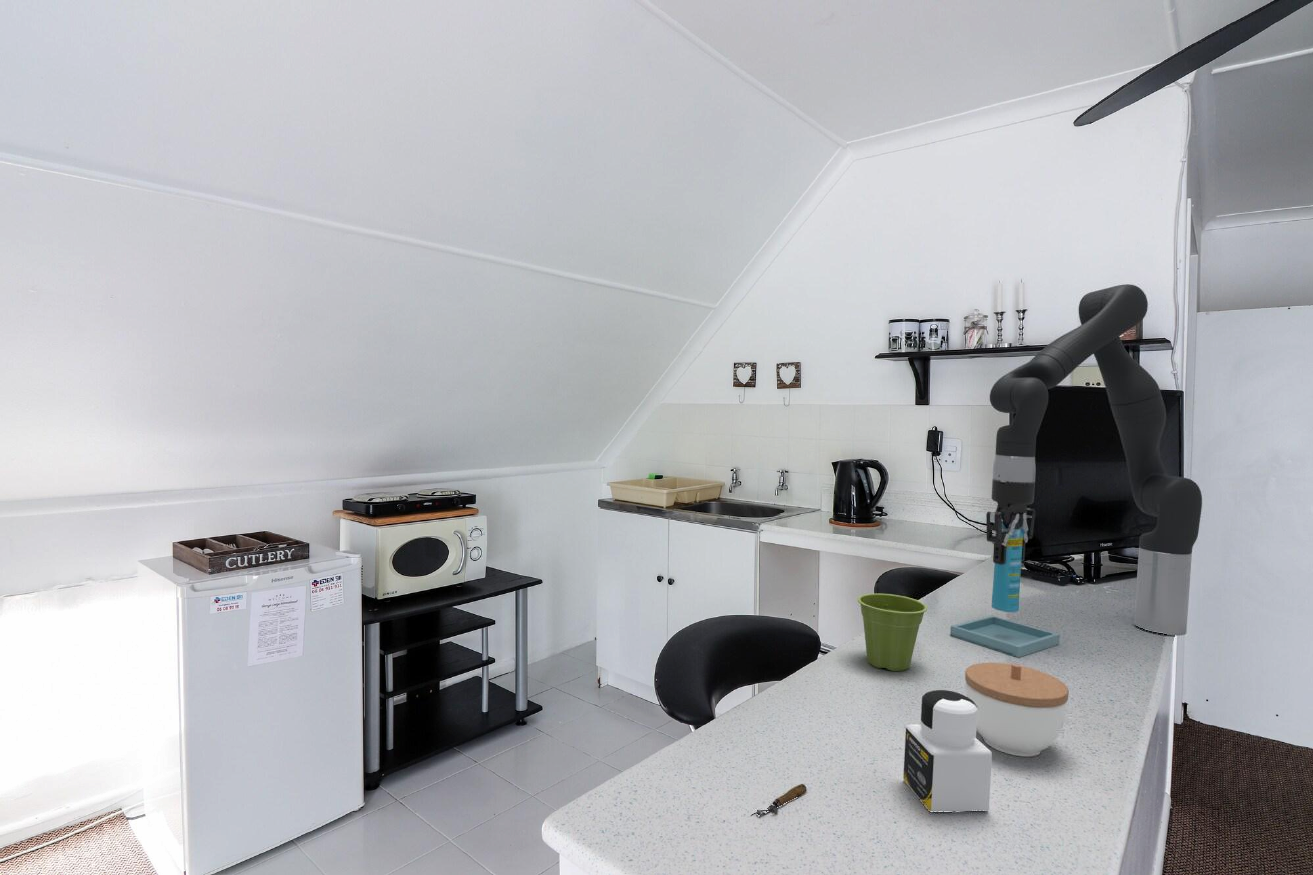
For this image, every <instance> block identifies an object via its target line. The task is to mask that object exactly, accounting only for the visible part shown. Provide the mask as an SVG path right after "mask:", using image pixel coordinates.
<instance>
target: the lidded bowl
mask: <svg viewBox="0 0 1313 875" xmlns="http://www.w3.org/2000/svg"><path fill="white" fill-rule="evenodd" d="M964 674H965V675H964V678H965V696H966V697H968V698H970V699H971V700H972V701H974V703H975V704H976V706H977V726H976V732H978V733H979V734H980V736H981V737H982V739H983V741H984V743H985V744H986V745H987V746H988V747H990V746H991V748H992V749H994V750H996V751H998V752H1001V753H1003V752H1004V754H1008V755H1010V754H1011V755H1010V756H1016V757H1024V758H1028V757H1029V758H1030V757H1037V756H1039V755H1041V753H1042V751H1043V750H1044V751H1045V749H1047V748H1049V747H1050V746H1051V745H1053V744H1054V743H1055V742H1056V740H1057V739H1058V738H1059V736H1060V734H1061V732H1062V730H1063V727H1064V723H1065V721H1066V714H1067V707H1068V706H1067V702H1068V699H1069V689H1068V686H1067V685H1066V684H1065V683H1064V682H1063V681H1061V680H1060V679H1058V677H1055V676H1053V675H1050V674H1048V673H1046V672H1043V671H1041V670H1038V669H1036V668H1035V669H1034V668H1031V667H1027V666H1023V665H1020V664H1018V663H1005V662H980V663H979V662H978V663H975V664H971V665H970V666H968V667H967V668H966V669H965V673H964Z"/></svg>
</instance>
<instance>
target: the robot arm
mask: <svg viewBox="0 0 1313 875" xmlns="http://www.w3.org/2000/svg"><path fill="white" fill-rule="evenodd" d="M1148 305H1149V302H1148V298H1147V295H1146V294H1145V292H1144V290H1142V289H1141V288H1140V287H1139V286H1137V285H1135V284H1128V283H1127V284H1119V285H1114V286H1111V287H1108V288H1101V289H1099V290H1094V291H1091V292H1088V293H1086V294H1084V295H1083V296H1082V298H1081V299H1080V301H1079V304H1078V319H1079V322H1080V325H1079V326H1078V327H1076V328H1074V329H1072V330H1070V331H1069V332H1067V333H1064V334H1062V335H1061V336H1059V337H1057V338H1056V339H1055V340H1053V341H1052V342H1050V343H1049V344H1047V345H1046V346H1045V347H1044V348H1043V349H1041V350H1040V351H1039V352H1038V353H1037V354H1036V355H1035V356H1034V357H1032V358H1031V359H1030V360H1029V361H1028V362H1026V363H1024V364H1022V365H1020V366H1018V367H1016V368H1014V369H1013V370H1011V371H1009V372H1008V373H1005V374H1004V375H1003V376H1001V377H1000V378H999V379H998V380H996V382H995V383H994V384H993V386H991V389H990V393H989V402H990V404H991V406H992V407H993V409H995V410H996V411H998V412H999V413H1004V414H1015V416H1014V418H1013V420H1012V422H1011V423H1010V424H1008V425H1007V424H1006V425H1003V426H1001V427H999V428H998V429H997V431H996V435H995V436H996V437H995V441H996V442H995V455H994V460H993V468H992V483H991V501H994V502H996V503H997V505H996V509H995V511H987V512H986V516H985V518H986V522H985V523H986V541H987V542H990V543H991V544H993V553H992V554H993V556H992V558H993V559H992V561H993V563H994V564H995V563H996V564H1001V565H1003V564H1005V563H1006V549H1007V546H1006V544H1007V541H1008V538H1009V536H1011V535H1012V534H1013V531H1014V529H1017V530H1018V529H1020V527H1022V530H1021V531H1022V533H1023V543H1022V558H1021V562H1023V561H1025V552H1026V544H1027V543H1028V541H1029V539H1030V540H1031V539H1033V536H1034V530H1035V529H1034V528H1035V522H1036V520H1035V519H1036V509H1034V508H1027V506H1028V505H1032V504H1033V503H1034V500H1035V488H1036V487H1035V486H1036V485H1035V484H1036V444H1037V435H1038V432H1039V430H1040V428H1041V425H1042V421H1043V419H1044V416H1045V413H1046V410H1047V407H1048V404H1049V392H1048V390H1049V389H1053V388H1055V387H1056V386H1058V385H1059V384H1061V382H1063V381H1064V380H1065V379H1066V378H1067V377H1068V376H1069V375H1070V374H1071V373H1073V371H1074V370H1076V369H1077V368H1078V367H1079V366H1080V365H1081V364H1082V363H1084V362H1086V360H1087V359H1088V358H1090V357H1091V356H1092V355H1094V358H1095V361H1096V363H1097V367H1098V369H1099V372H1100V374H1101V378H1102V380H1103V384H1104V387H1105V390H1106V394H1107V397H1108V402H1109V406H1110V410H1111V412H1112V416H1113V418H1114V422H1115V424H1116V427H1117V431H1118V434H1119V437H1120V441H1121V445H1122V449H1123V452H1124V456H1125V459H1126V465H1127V470H1128V475H1129V476H1128V477H1129V484H1130V487H1131V492H1132V496H1133V497H1132V498H1133V499H1134V500H1133V501H1134V502H1135V505H1136V507H1137V508H1138V509H1139V510H1140V512H1142V513H1144V514H1145V515H1148V516H1151V517H1156V518H1157V522H1156V526H1155V528H1154V529H1153V530H1152V531H1149V532H1144V533H1142V534H1141V535H1140V536H1139V542H1138V543H1139V545H1138V560H1137V571H1136V572H1137V573H1136V574H1137V575H1136V586H1135V587H1136V588H1135V590H1136V591H1135V600H1134V601H1135V602H1134V605H1135V606H1134V620H1133V625H1134V626H1135V625H1136V626H1138V627H1141V628H1143V629H1148V630H1151V631H1157V632H1163V633H1166V634H1167V635H1166V636H1175V637H1176V636H1184V635H1186V634H1187V631H1188V630H1187V629H1188V628H1187V627H1188V618H1189V617H1188V615H1189V601H1190V585H1191V573H1192V572H1191V571H1192V570H1191V569H1192V555H1193V554H1192V553H1193V549H1194V545H1195V544H1196V542H1197V539H1198V536H1199V532H1200V531H1199V530H1200V524H1201V523H1200V522H1201V517H1202V511H1203V510H1202V509H1203V508H1202V507H1203V496H1202V491H1201V488H1200V486H1199V485H1198V484H1197V483H1196V482H1195V481H1194V480H1192V479H1190V478H1188V477H1182V476H1175V475H1169V474H1167V473H1166V471H1165V468H1164V465H1163V462H1162V458H1161V454H1160V443H1161V439H1162V436H1163V434H1164V430H1165V427H1166V422H1167V410H1166V406H1165V403H1164V400H1163V399H1164V398H1163V396H1162V391H1161V388H1160V386H1159V384H1158V383H1157V381H1156V380H1155V378H1154V377H1153V376H1152V375H1151V374H1150V373H1149V372H1148V370H1146V369H1145V368H1144V367H1143V366H1141V364H1140V363H1138V362H1137V361H1136V360H1135V358H1133V357H1132V356H1131V355H1130V354H1129V352H1128V351H1127V350H1126V348H1125V346H1124V344H1123V342H1122V339H1121V337H1120V336H1121V335H1123V334H1124V333H1127V332H1128V331H1130V330H1131V329H1133V328H1135V327H1136V326H1138V325H1139V324H1140V323H1141V322H1142V321H1143V320H1144V318H1145V317H1146V314H1147V311H1148V309H1149V308H1148V307H1149V306H1148ZM1002 523H1003V525H1004V526H1005V528H1006V529H1002ZM1002 533H1003V534H1004V535H1003V538H1002ZM1136 626H1135V627H1136ZM1138 627H1137V628H1138ZM1143 629H1142V630H1143Z"/></svg>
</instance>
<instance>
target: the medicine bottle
mask: <svg viewBox="0 0 1313 875" xmlns="http://www.w3.org/2000/svg"><path fill="white" fill-rule="evenodd" d="M920 707H921V708H920V724H916V723H915V724H911V723H910V724H907V725H906V726H905V735H904V736H905V740H904V755H903V756H904V759H903V782H905V783H906V785H907V786H908V787H909V789H910V790H911V791H912V793H914V795H915V796H916V797H917V798H918V800H919V799H920V800H919V801H920V802H921V803H922V805H923V804H924V805H923V806H924V807H925V808H926V809H928V810H927V811H928V812H929V811H933V812H934V811H937V812H938V811H943V812H944V811H972V810H973V811H974V810H975V811H976V810H977V811H980V810H981V811H983V810H984V811H985V810H986V811H987V812H989V810H990V799H991V798H990V796H991V794H990V793H991V776H992V760H993V759H992V758H993V753H992V751H991V750H990V749H988V747H987V746H985V745H984V744H983V743H982V742H981V741H980V740H979V739H977V730H976V726H977V706H976V704H975V703H974V701H972V700H971V699H970V698H968V697H966V695H965V694H962V693H960V692H956V691H952V690H947V689H946V690H945V689H937V690H930V691H927V692H926V693H924V694H923V695H922V696H921V706H920Z"/></svg>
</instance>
